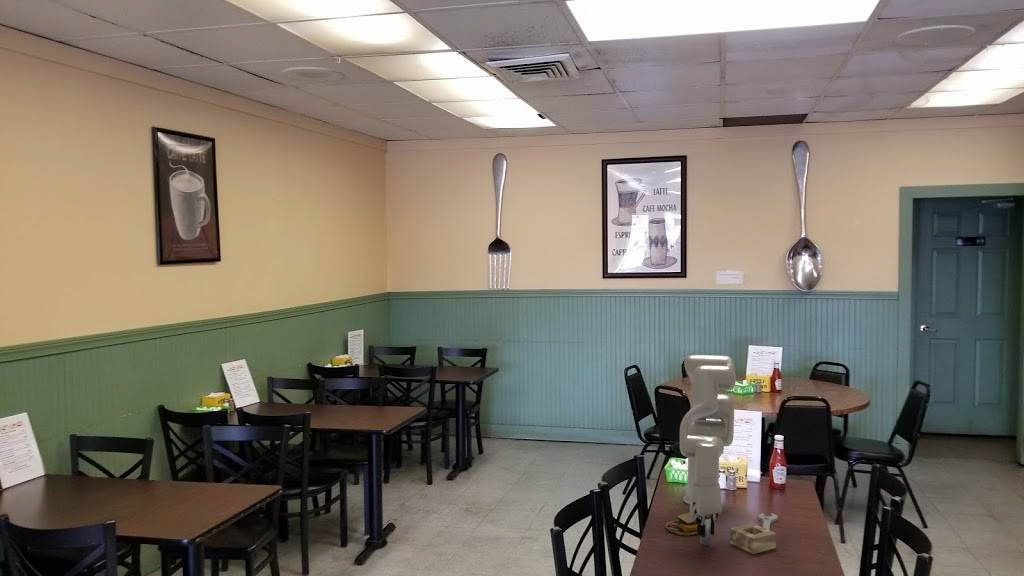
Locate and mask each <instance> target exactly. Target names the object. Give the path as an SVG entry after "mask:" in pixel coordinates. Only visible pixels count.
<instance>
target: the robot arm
mask: <svg viewBox="0 0 1024 576" xmlns="http://www.w3.org/2000/svg"><path fill="white" fill-rule="evenodd" d="M683 363H684V369H685V372H686V374H687V376H688V378H689V382H690V409H689V411H687V412H686V414H685V415H684V416H683V418H682V420H681V422H680V426H679V450H680V453H681V455H682V456H684V457H687V484H685V485H684V486H683V487H682V489H681V491H683V492H685V495H684V496H683V497H682V499H683V502H684V503H686V504H687V505H689V512H691V514H690V516H689V517H690V518H691V519H693V520H695V522H696V523H697V534H696V535H698V536H700V538H701V537H705V528H706V526H705V525H704V520H705V516H707V515H711V536H714V535H715V523H717V519H718V518H719V516H720V514H722V512H723V509H722V491H721V484H720V483H719V480H720V479H719V478H721V475H720V473H719V472H720V464H719V463H720V457H721V456H722V455H723V454H724V451H725V450H724V449H725V448H724V447H729V446H731V445H732V444H733V442H734V436H735V435H734V433H735V430H734V427H735V404H734V399H733V397H732V396H731V395H729V394H725V393H718V392H719V390H720V391H721V390H723V391H731V390H734V388H735V385H736V382H737V378H736V377H737V376H736V369H735V365H734V364H735V363H734V360H733V358H732V357H731V356H728V355H716V354H715V355H714V354H713V355H712V354H689V355H687V356H686V357H685V358H684V361H683ZM700 517H701V520H700Z"/></svg>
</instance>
